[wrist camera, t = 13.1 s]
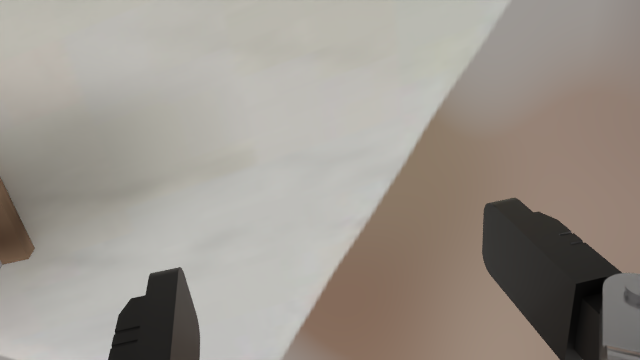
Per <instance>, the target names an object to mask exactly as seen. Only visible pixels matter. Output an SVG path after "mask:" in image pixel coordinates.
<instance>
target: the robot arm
mask: <svg viewBox="0 0 640 360" xmlns="http://www.w3.org/2000/svg"><path fill="white" fill-rule="evenodd" d="M482 254H483V259H484V263H485V266H486V268H487V270H488V272H489V274H490V275H491V276H492V277H493V279H494V280H495V281H496V282H497V283H498V285H499V286H500V287H501V288H502V290H503V291H504V292H505V293H506V294H507V296H508V297H509V298H510V299H511V301H512V302H513V303H514V304H515V305H516V307H517V308H518V309H519V310H520V311H521V313H522V314H523V315H524V316H525V317H526V319H527V320H528V321H529V322H530V324H531V325H532V326H533V327H534V328H535V330H536V331H537V332H538V333H539V334H540V336H541V337H542V338H543V339H544V341H545V342H546V343H547V344H548V345H549V347H550V348H551V349H552V350H553V352H554V353H555V354H556V355H557V356H558V358H559V359H560V360H640V274H635V273H622V272H620V271H619V270H618V269H617V268H615V267H614V266H613V265H612V264H611V263H609V262H608V261H607V260H606V259H605V258H603V257H602V256H601V255H600V254H598V253H597V252H596V251H595V250H594V249H592V248H591V247H590V246H589V245H588V244H586V243H583V242H582V240H581V239H580V238H579V237H578V236H577V235H575V234H574V233H573V234H572V233H571V231H570V230H569V229H568V228H567V227H566V226H564V225H563V224H562V223H561V222H560V221H558V220H557V219H554V218H552V217H550V216H547V215H545V214H543V213H540V212H532V211H531V210H530V209H529V208H528V207H527V206H525V205H524V204H523V203H522V202H521V201H520V200H518V199H516V198H510V199H506V200H502V201H496V202H492V203H488V204H486V205H485V208H484V220H483V248H482ZM199 357H200V332H199V325H198V319H197V315H196V311H195V308H194V305H193V302H192V298H191V295H190V292H189V288H188V285H187V282H186V278H185V275H184V272H183V270H182V268H181V267H179V268H174V269H170V270H165V271H160V272H155V273H151V274H150V275H149V279H148V285H147V291H146V295H145V296H141V297H136V298H131V299H130V301H129V302H128V303H127V305H126V306H125V307H124V309H123V310H122V311H121V313H120V314H119V316H118V321H117V325H116V329H115V335H114V337H113V341H112V349H111V350H110V354H109V358H108V360H199Z"/></svg>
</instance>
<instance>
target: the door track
mask: <svg viewBox="0 0 640 360" xmlns="http://www.w3.org/2000/svg"><path fill="white" fill-rule="evenodd" d="M34 249H35V248H34V246H33V244H32V242H31V240H30V238H29V236H28V234H27V232H26V230H25V228H24V225H23V223H22V221H21V219H20V217H19V215H18V213H17V211H16V209H15V207H14V205H13V203H12V201H11V198H10V196H9V194H8V192H7V190H6V188H5V186H4V184H3V182H2V180H1V178H0V268H1V266H2V264H7V263H12V262H16V261H21V260H26V259H29V257H30V256H31V254H32V252H33V250H34Z"/></svg>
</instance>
